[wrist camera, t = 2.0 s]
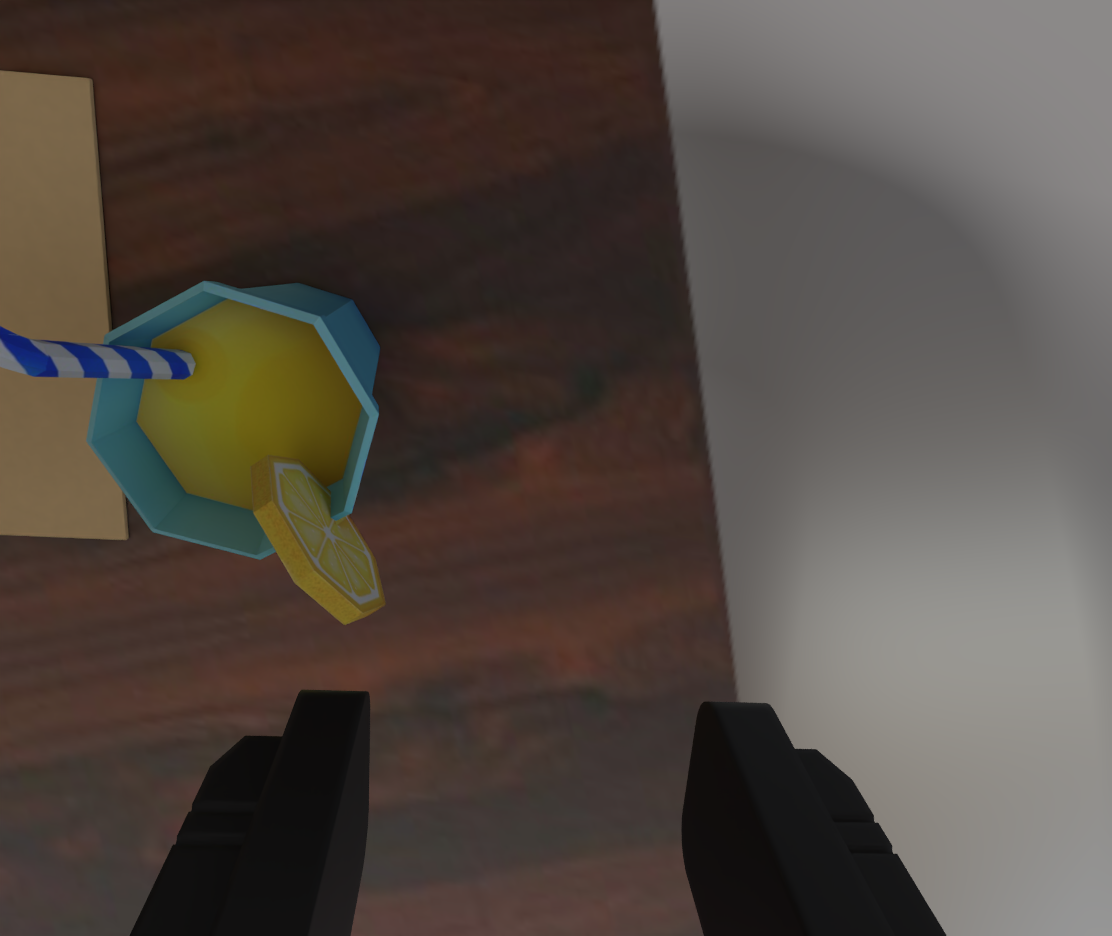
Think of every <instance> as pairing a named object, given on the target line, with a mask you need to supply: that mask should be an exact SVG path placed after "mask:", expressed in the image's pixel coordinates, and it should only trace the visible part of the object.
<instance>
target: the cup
mask: <svg viewBox="0 0 1112 936" xmlns="http://www.w3.org/2000/svg"><path fill="white" fill-rule="evenodd" d="M379 352H380V346H379V344H378V342H377V341H376V339H375V337H374V336H373V334H372V332H371V330H370V329H369V327H368V325H367V324H366V322H365V320H364V318H363V317H362V315H361V313H360V312H359V310H358V308H357V306H356V305H355V303H354V301H353V300H352V299H349V298H346V297H342V296H339V295H336V294H333V293H330V292H326V291H323V290H320V289H317V288H313V287H310V286H307V285H304V284H301V283H292V284H283V285H273V286H264V287H254V288H245V289H239V288H235V287H232V286H229V285H225V284H222V283H219V282H213V281H203V282H201V283H199V284H197V285H195V286H194V287H192V288H190V289H188V290H186V291H184V292H183V293H181V294H179V295H177V296H175V297H173V298H172V299H170V300H168V301H166V302H164V303H162V304H160V305H159V306H157V307H155V308H153V309H151V310H149V311H148V312H146V313H144V314H142V315H140V316H138V317H137V318H135V319H133V320H131V321H129V322H127V323H126V324H124V325H122V326H120V327H118V328H116V329H114V330H113V331H111V332H109V333H107V334H105V335H104V341H103V344H92V343H78V342H64V341H50V340H36V339H29V338H26V337H24V336H21V335H18V334H16V333H13V332H11V331H9V330H7V329H5V328H3V327H1V326H0V367H2V368H5V369H8V370H12V371H15V372H19V373H23V374H26V375H30V376H33V377H70V378H97V381H96V387H95V392H94V398H93V404H92V410H91V415H90V421H89V427H88V432H87V438H86V442H87V443H88V445H89V446H90V447H91V449H92V450H93V451H94V453H95V454H96V456H97V457H98V458H99V460H100V461H101V462H102V464H103V465H104V466H105V468H106V469H107V471H108V472H109V473H110V475H111V476H112V477H113V479H114V480H115V482H116V483H117V484H118V486H119V487H120V488H121V490H122V491H123V492H124V494H125V495H126V497H127V498H128V499H129V501H130V502H131V503H132V505H133V506H134V508H135V509H136V510H137V512H138V513H139V514H140V516H141V517H142V518H143V520H144V521H145V523H146V524H147V525H148V527H149V528H150V529H151V531H152V532H154V533H158V534H162V535H166V536H170V537H174V538H178V539H182V540H185V541H189V542H193V543H197V544H201V545H205V546H209V547H213V548H217V549H221V550H224V551H228V552H232V553H236V554H240V555H244V556H248V557H252V558H256V559H259V560H260V559H262V558H264V557H266V556H268V555H270V554H272V553H274V552H277V554H278V556H279V557H280V559H281V561H282V562H283V564H284V566H285V568H286V569H287V571H288V573H289V574H290V576H291V578H292V579H293V581H294V583H295V584H296V585H298V586H299V587H300V588H301V589H302V590H304V591H305V592H306V593H307V594H308V595H309V596H311V597H312V598H313V599H314V600H315V601H317V602H318V603H319V604H320V605H321V606H322V607H324V608H325V609H326V610H327V611H328V612H329V613H331V614H332V615H333V616H334V617H335V618H337V619H338V620H339V621H340V622H341V623H342V624H344V625H346V624H349V623H351V622H354V621H356V620H359V619H361V618H364V617H366V616H369V615H370V614H372V613H373V612H375V611H377V610H378V609H380V608H381V607H383V606H384V605H386V603H385V599H384V595H383V590H382V586H381V581H380V577H379V573H378V568H377V564H376V559H375V557H374V555H373V554H372V552H371V550H370V549H369V547H368V545H367V544H366V542H365V540H364V539H363V537H362V535H361V534H360V532H359V531H358V529H357V527H356V526H355V524H354V522H353V521H352V519H351V517H350V516H349V514H351V513H352V510H353V507H354V503H355V499H356V496H357V492H358V489H359V485H360V481H361V478H362V474H363V470H364V467H365V463H366V459H367V456H368V452H369V449H370V445H371V441H372V438H373V434H374V430H375V427H376V423H377V420H378V416H379V406H378V404H377V403H376V401H375V399H374V398H373V396H372V391H373V385H374V380H375V374H376V369H377V363H378V358H379Z"/></svg>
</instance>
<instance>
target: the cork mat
mask: <svg viewBox="0 0 1112 936" xmlns="http://www.w3.org/2000/svg"><path fill="white" fill-rule="evenodd" d="M0 326H1V327H3V328H5V329H7V330H9V331H11V332H13V333H16V334H18V335H21V336H24V337H26V338H29V339H36V340H50V341H64V342H78V343H92V344H103V341H104V335H105V334H107V333H109V332H111V331H112V321H111V308H110V295H109V283H108V270H107V258H106V245H105V233H104V220H103V207H102V195H101V182H100V170H99V157H98V144H97V132H96V119H95V107H94V94H93V81H92V79H90V78H81V77H69V76H58V75H47V74H36V73H25V72H14V71H3V70H0ZM96 381H97V378H70V377H33V376H30V375H26V374H23V373H19V372H15V371H12V370H8V369H5V368H2V367H0V535H17V536H41V537H64V538H88V539H111V540H127V539H128V538H129V535H128V522H127V510H126V497H125V494H124V492H123V491H122V490H121V488H120V487H119V486H118V484H117V483H116V482H115V480H114V479H113V477H112V476H111V475H110V473H109V472H108V471H107V469H106V468H105V466H104V465H103V464H102V462H101V461H100V460H99V458H98V457H97V456H96V454H95V453H94V451H93V450H92V449H91V447H90V446H89V445H88V443H87V442H86V438H87V432H88V427H89V421H90V415H91V410H92V404H93V398H94V392H95V387H96Z"/></svg>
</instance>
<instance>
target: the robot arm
mask: <svg viewBox="0 0 1112 936" xmlns="http://www.w3.org/2000/svg"><path fill="white" fill-rule="evenodd" d="M369 755H370V696H369V692H367V691H331V690H301V691H300V692H299V694H298V696H297V699H296V701H295V704H294V707H293V709H292V712H291V715H290V718H289V720H288V723H287V726H286V728H285V731H284V734H283V736H282V737H279V736H244V737H243V738H242V739H241V740H240V741H239V742H238V743H237V744H235V745H234V746H233V747H232V748H231V749H230V750H229V751H227V752H226V753H225V754H224V755H223V756H222V757H221V758H219V759H218V760H217V761H216V762H215V763H214V764H213V765H212V766H210V768H209V770H208V772H207V774H206V777H205V779H204V781H203V783H202V785H201V787H200V789H199V791H198V793H197V795H196V798H195V800H194V802H193V804H192V811H191V812H188V814H187V816H186V819H185V821H184V823H183V825H182V827H181V829H180V831H179V833H178V835H177V842H176V845H173V846H172V848H171V850H170V852H169V854H168V856H167V858H166V860H165V863H164V865H163V867H162V869H161V871H160V873H159V875H158V877H157V879H156V881H155V884H154V886H153V888H152V890H151V892H150V894H149V896H148V898H147V900H146V902H145V905H144V907H143V909H142V911H141V913H140V915H139V917H138V919H137V921H136V923H135V926H134V928H133V930H132V932H131V934H130V936H350V935H351V930H352V925H353V919H354V914H355V908H356V903H357V897H358V892H359V887H360V881H361V876H362V870H363V864H364V857H365V849H366V840H367V829H368V813H369ZM682 849H683V858H684V864H685V869H686V874H687V877H688V881H689V884H690V888H691V891H692V895H693V898H694V902H695V905H696V909H697V912H698V916H699V919H700V923H701V927H702V930H703V934H704V936H946V934H945V932H944V931H943V929H942V927H941V926H940V924H939V923H938V921H937V919H936V917H935V916H934V914H933V912H932V911H931V909H930V908H929V906H928V904H927V903H926V901H925V900H924V898H923V896H922V894H921V893H920V891H919V890H918V888H917V886H916V884H915V883H914V881H913V879H912V878H911V876H910V874H909V873H908V871H907V869H906V868H905V866H904V865H903V863H902V861H901V860H900V858H899V856H898V855H897V854H893V852H892V845H891V843H890V841H889V840H888V838H887V836H886V835H885V833H884V832H883V830H882V828H881V827H880V825H879V823H875V822H874V815H873V814H872V812H871V810H870V809H869V807H868V805H867V803H866V802H865V800H864V798H863V797H862V795H861V793H860V792H859V790H858V789H857V787H856V785H855V784H854V782H853V780H852V779H851V778H849V777H848V776H847V775H846V774H845V773H844V772H842V771H841V770H840V769H839V768H838V767H836V766H835V765H834V764H833V763H832V762H831V761H829V760H828V759H827V758H826V757H824V756H823V755H822V754H821V753H820V752H819V751H818V750H816V749H794V747H793V745H792V743H791V741H790V739H789V737H788V736H787V734H786V732H785V730H784V728H783V726H782V724H781V722H780V721H779V719H778V717H777V715H776V713H775V711H774V710H773V708H772V707H771V706H770V705H769V704H767V703H741V702H703V703H702V704H701V706H700V708H699V711H698V715H697V719H696V725H695V732H694V739H693V746H692V752H691V759H690V766H689V772H688V779H687V786H686V792H685V799H684V806H683V813H682Z"/></svg>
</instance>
